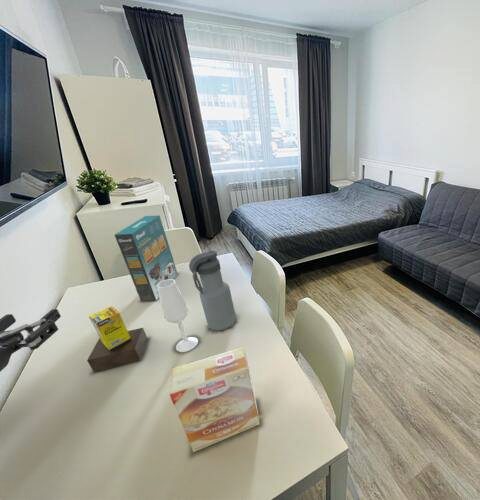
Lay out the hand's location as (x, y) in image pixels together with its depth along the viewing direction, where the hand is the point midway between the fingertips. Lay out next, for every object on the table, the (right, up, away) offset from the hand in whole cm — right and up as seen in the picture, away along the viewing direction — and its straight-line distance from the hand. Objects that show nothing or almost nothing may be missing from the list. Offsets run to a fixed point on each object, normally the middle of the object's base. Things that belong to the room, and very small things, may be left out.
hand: (34, 314), depth 59 cm
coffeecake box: (+40, -28, +6) cm, 49 cm away
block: (-2, -19, +27) cm, 33 cm away
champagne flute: (+17, -17, +30) cm, 39 cm away
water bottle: (+25, -13, +40) cm, 49 cm away
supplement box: (-2, -15, +25) cm, 29 cm away
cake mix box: (-13, -2, +63) cm, 64 cm away
